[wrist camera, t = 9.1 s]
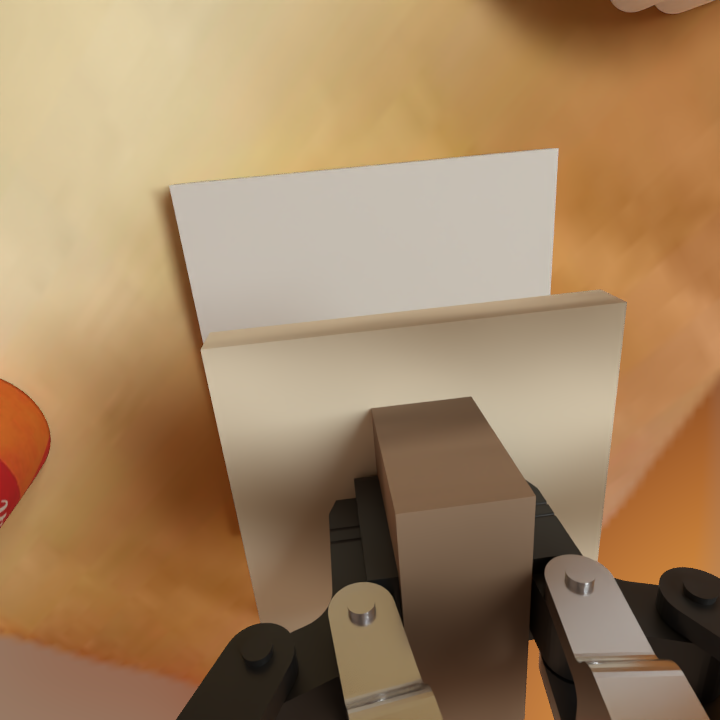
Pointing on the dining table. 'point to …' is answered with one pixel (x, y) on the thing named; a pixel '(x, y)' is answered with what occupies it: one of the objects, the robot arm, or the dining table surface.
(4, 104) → the dining table surface
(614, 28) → the dining table surface
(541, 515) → the robot arm
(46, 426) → the paper cup
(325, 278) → the rubber mat
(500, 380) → the cup cover
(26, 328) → the dining table surface
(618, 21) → the dining table surface
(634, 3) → the mooncake
